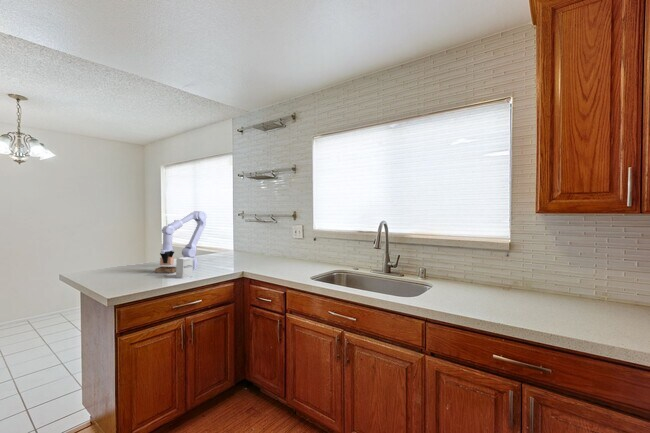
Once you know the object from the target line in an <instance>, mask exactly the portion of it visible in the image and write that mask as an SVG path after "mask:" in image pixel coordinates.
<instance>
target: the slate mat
mask: <svg viewBox="0 0 650 433" xmlns="http://www.w3.org/2000/svg"><path fill="white" fill-rule="evenodd" d="M168 275H169V274H167V273H155V270H153V271H152V272H150V273H147V274H145V275H143V276H151V277H165V276H168Z"/></svg>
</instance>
